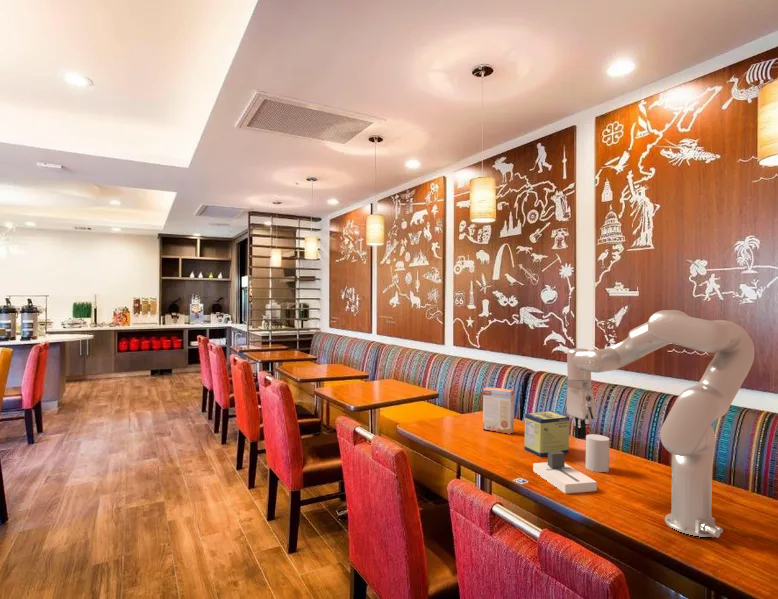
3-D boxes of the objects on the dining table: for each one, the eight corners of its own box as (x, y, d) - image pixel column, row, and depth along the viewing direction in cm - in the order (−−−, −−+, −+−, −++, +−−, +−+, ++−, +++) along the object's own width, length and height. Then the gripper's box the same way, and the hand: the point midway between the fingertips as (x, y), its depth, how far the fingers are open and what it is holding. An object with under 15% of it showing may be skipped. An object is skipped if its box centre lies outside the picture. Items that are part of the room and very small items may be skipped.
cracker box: (514, 432, 220) (514, 389, 220) (510, 435, 215) (511, 391, 215) (486, 427, 228) (487, 386, 228) (482, 430, 223) (483, 388, 223)
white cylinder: (611, 473, 168) (611, 441, 168) (588, 471, 170) (588, 439, 170) (605, 465, 176) (606, 435, 176) (583, 464, 178) (583, 433, 178)
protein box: (569, 453, 191) (570, 416, 191) (540, 457, 185) (540, 419, 185) (552, 445, 201) (552, 410, 201) (523, 449, 195) (524, 413, 195)
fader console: (596, 490, 152) (596, 481, 152) (565, 493, 150) (565, 484, 150) (561, 469, 172) (561, 460, 172) (533, 471, 169) (533, 462, 169)
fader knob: (564, 467, 164) (564, 453, 164) (552, 468, 163) (552, 454, 163) (559, 464, 167) (559, 450, 167) (547, 465, 166) (547, 451, 166)
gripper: (603, 387, 149) (604, 443, 149) (575, 381, 164) (576, 431, 163) (583, 388, 148) (584, 444, 147) (557, 381, 162) (558, 433, 162)
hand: (580, 437), depth 155 cm, fingers closed
